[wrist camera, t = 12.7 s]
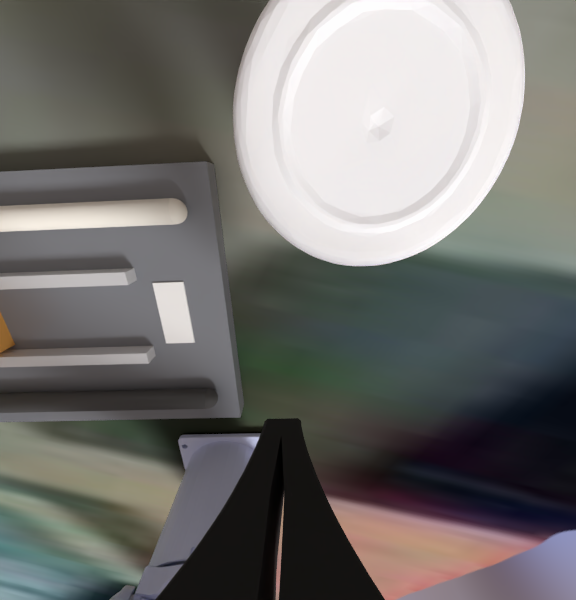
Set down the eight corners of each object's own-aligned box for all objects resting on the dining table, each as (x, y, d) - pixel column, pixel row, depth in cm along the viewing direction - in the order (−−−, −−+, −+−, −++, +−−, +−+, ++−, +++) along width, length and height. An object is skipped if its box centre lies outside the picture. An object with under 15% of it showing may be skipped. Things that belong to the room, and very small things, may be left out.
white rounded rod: (192, 222, 16) (184, 225, 15) (-150, 237, 17) (-187, 240, 16) (188, 197, 16) (179, 197, 14) (-164, 213, 16) (-204, 215, 15)
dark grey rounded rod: (221, 399, 21) (216, 412, 20) (-49, 405, 22) (-71, 418, 20) (218, 384, 20) (213, 397, 19) (-58, 390, 21) (-81, 403, 20)
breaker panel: (243, 403, 23) (238, 427, 21) (-33, 409, 24) (-69, 433, 21) (214, 164, 16) (200, 159, 14) (-164, 183, 17) (-236, 181, 15)
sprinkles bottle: (279, 218, 18) (242, 277, 5) (274, 136, 16) (202, -84, 3) (351, 215, 17) (502, 266, 5) (353, 132, 16) (593, -120, 3)
